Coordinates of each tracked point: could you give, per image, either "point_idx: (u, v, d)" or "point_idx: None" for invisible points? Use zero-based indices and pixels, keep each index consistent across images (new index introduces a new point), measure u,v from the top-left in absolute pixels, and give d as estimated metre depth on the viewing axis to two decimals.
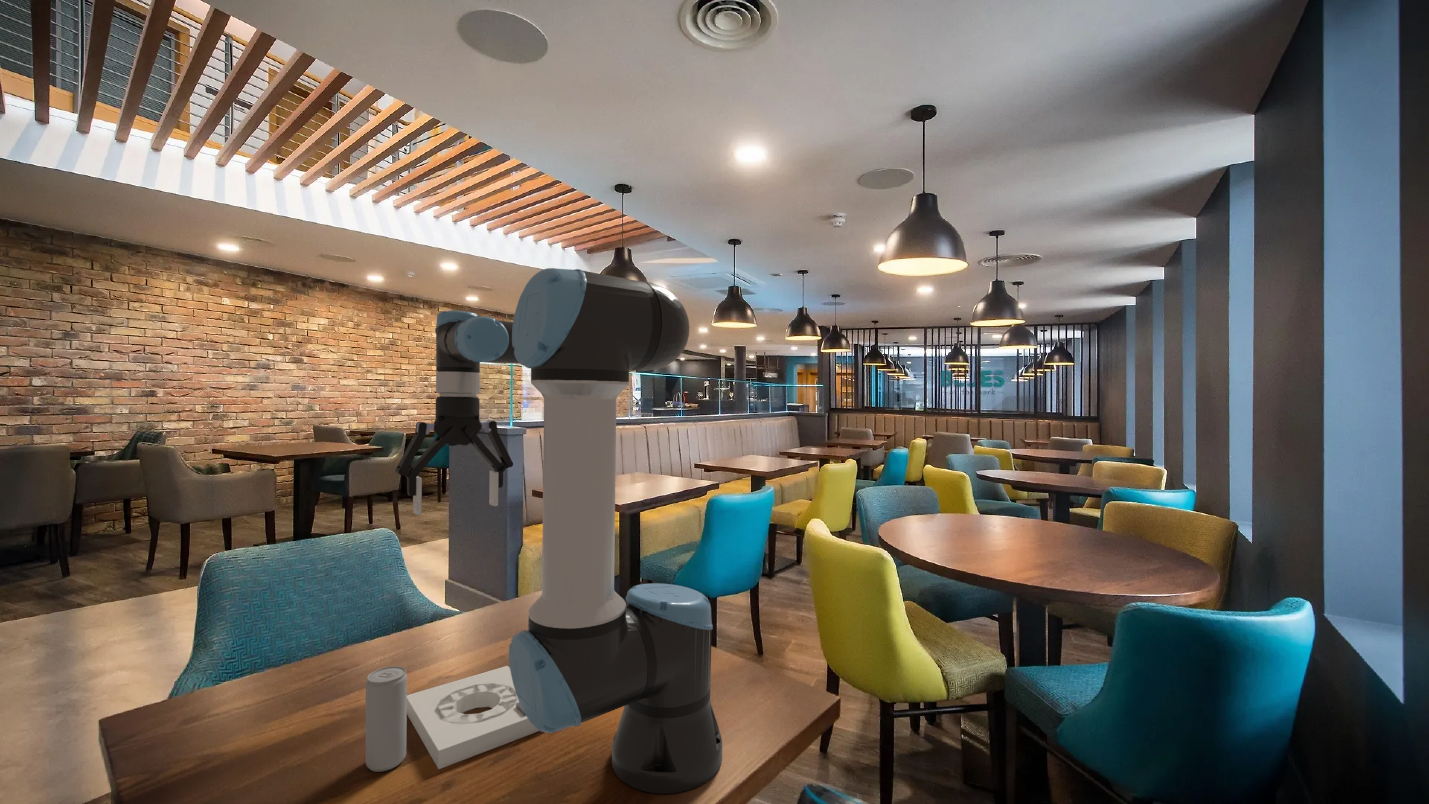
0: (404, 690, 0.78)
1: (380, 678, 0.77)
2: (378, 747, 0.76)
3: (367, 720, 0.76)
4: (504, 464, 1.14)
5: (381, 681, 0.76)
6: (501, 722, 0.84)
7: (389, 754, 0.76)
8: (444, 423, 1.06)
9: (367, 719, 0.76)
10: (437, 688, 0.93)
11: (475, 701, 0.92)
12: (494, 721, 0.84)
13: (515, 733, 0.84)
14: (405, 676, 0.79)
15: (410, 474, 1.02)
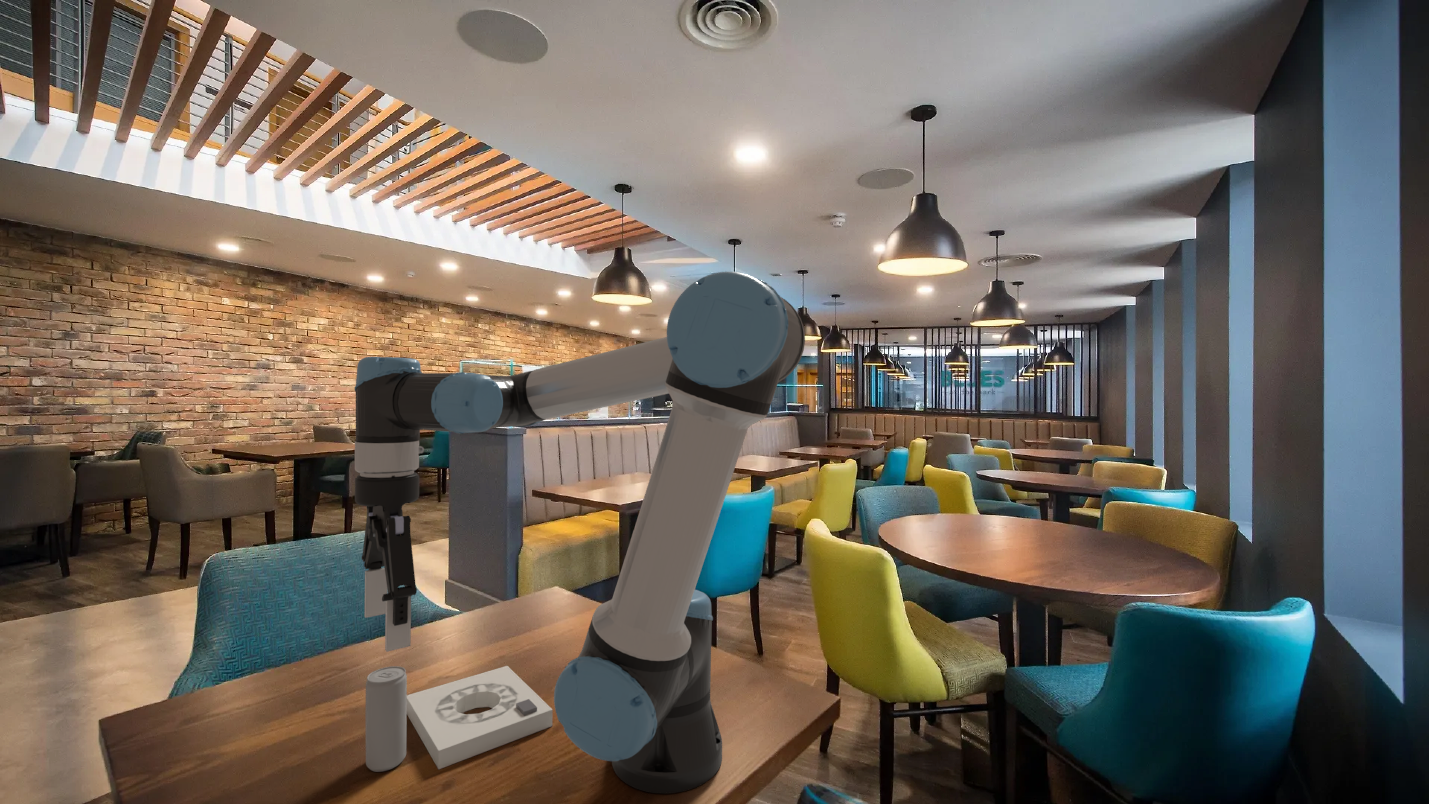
0: (404, 690, 0.78)
1: (380, 678, 0.77)
2: (378, 747, 0.76)
3: (367, 720, 0.76)
4: None
5: (381, 681, 0.76)
6: (501, 722, 0.84)
7: (389, 754, 0.76)
8: (374, 508, 0.79)
9: (367, 719, 0.76)
10: (437, 688, 0.93)
11: (475, 701, 0.92)
12: (494, 721, 0.84)
13: (515, 733, 0.84)
14: (405, 676, 0.79)
15: None
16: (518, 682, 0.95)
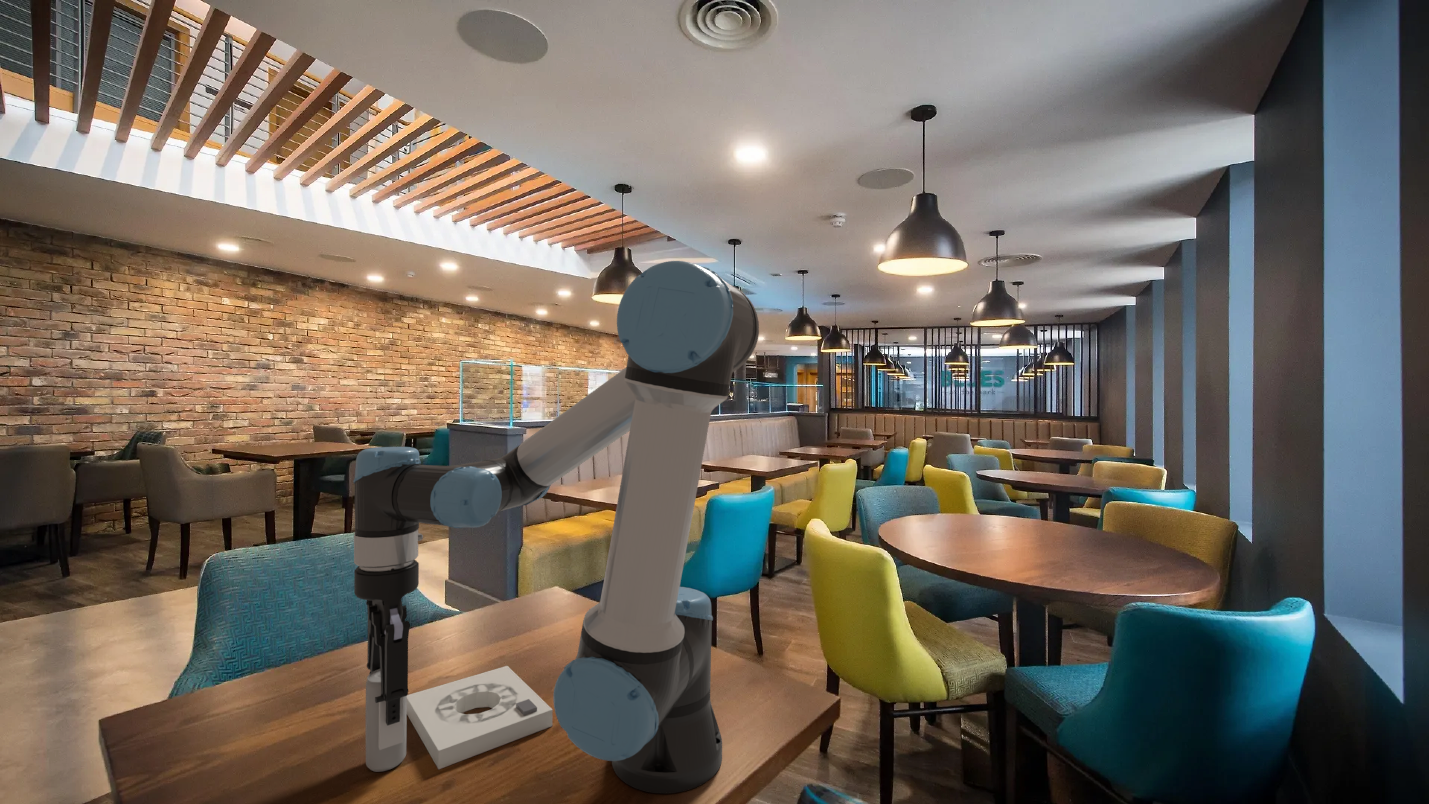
0: None
1: (380, 677, 0.77)
2: (378, 747, 0.76)
3: (367, 720, 0.76)
4: None
5: None
6: (501, 722, 0.84)
7: (388, 754, 0.76)
8: None
9: (367, 719, 0.76)
10: (437, 688, 0.93)
11: (475, 701, 0.92)
12: (494, 721, 0.84)
13: (515, 733, 0.84)
14: None
15: None
16: (518, 682, 0.95)
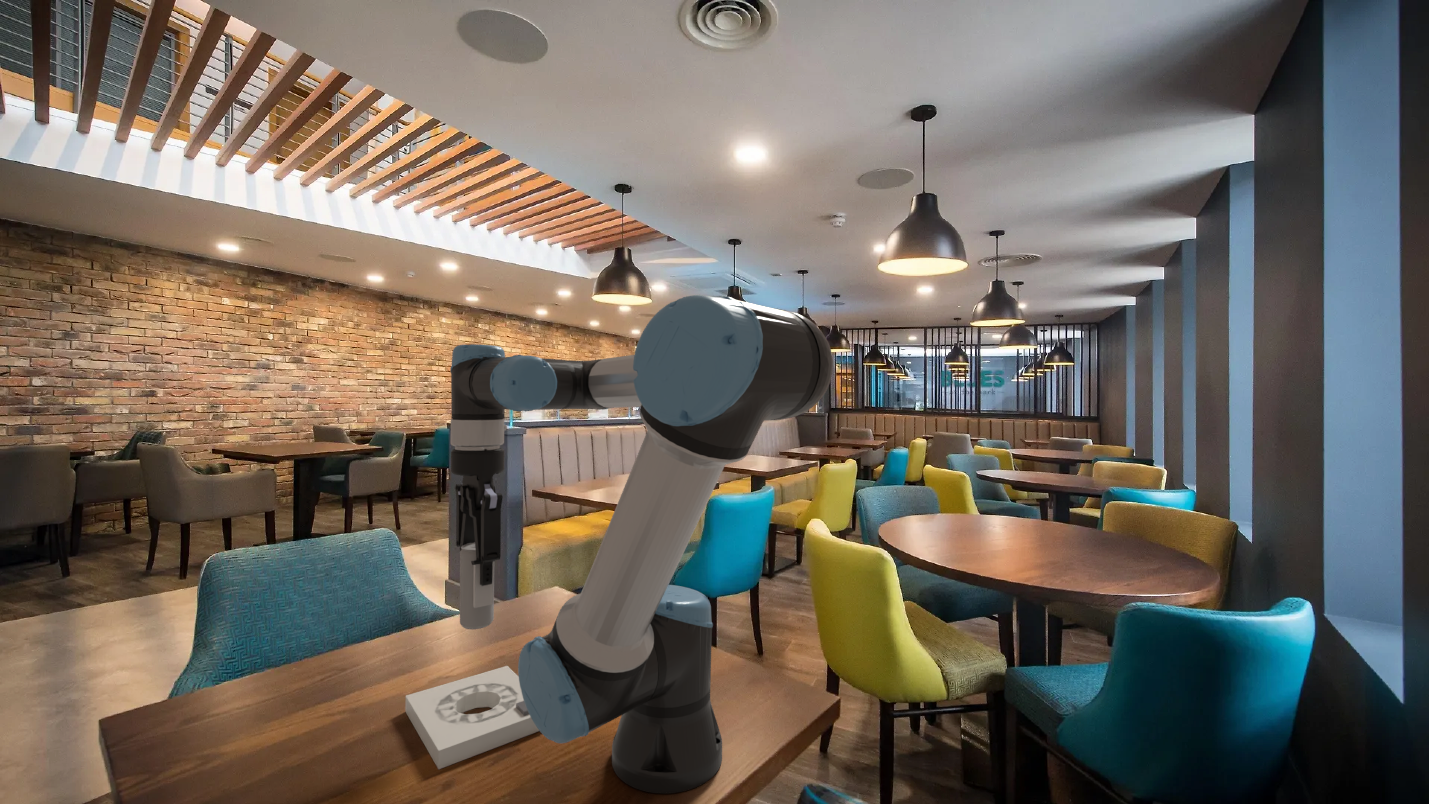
0: None
1: (473, 548, 0.87)
2: (473, 607, 0.86)
3: (462, 584, 0.86)
4: None
5: (474, 550, 0.87)
6: (501, 722, 0.84)
7: (481, 613, 0.87)
8: (463, 478, 0.90)
9: (462, 583, 0.86)
10: (437, 688, 0.93)
11: (475, 701, 0.92)
12: (494, 721, 0.84)
13: (515, 733, 0.84)
14: None
15: (460, 549, 0.91)
16: (518, 682, 0.95)
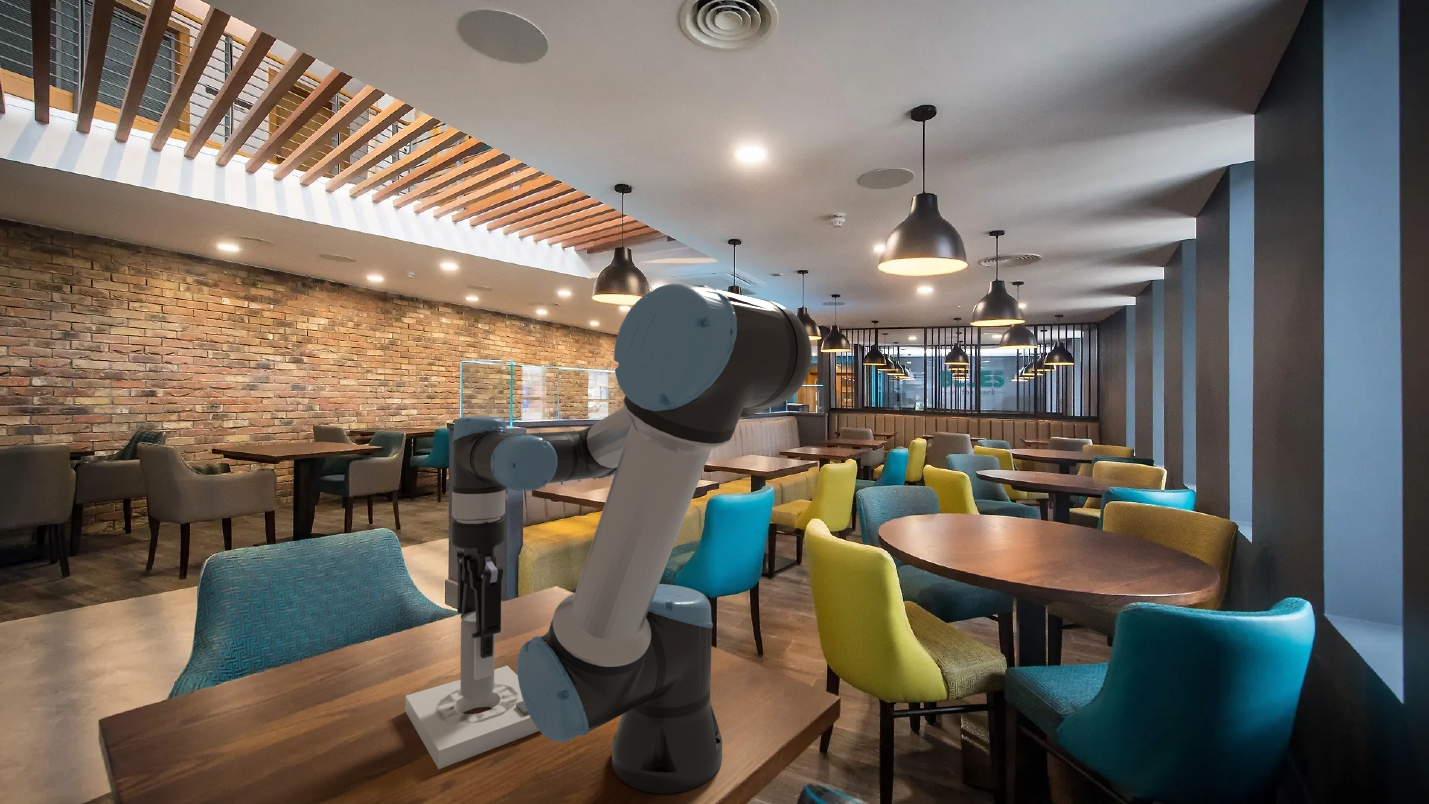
0: None
1: (473, 618, 0.88)
2: (473, 678, 0.87)
3: (463, 655, 0.87)
4: None
5: (475, 621, 0.87)
6: (501, 722, 0.84)
7: (481, 684, 0.87)
8: None
9: (463, 654, 0.87)
10: (437, 688, 0.93)
11: (475, 701, 0.92)
12: (494, 721, 0.84)
13: (515, 733, 0.84)
14: None
15: None
16: (518, 682, 0.95)
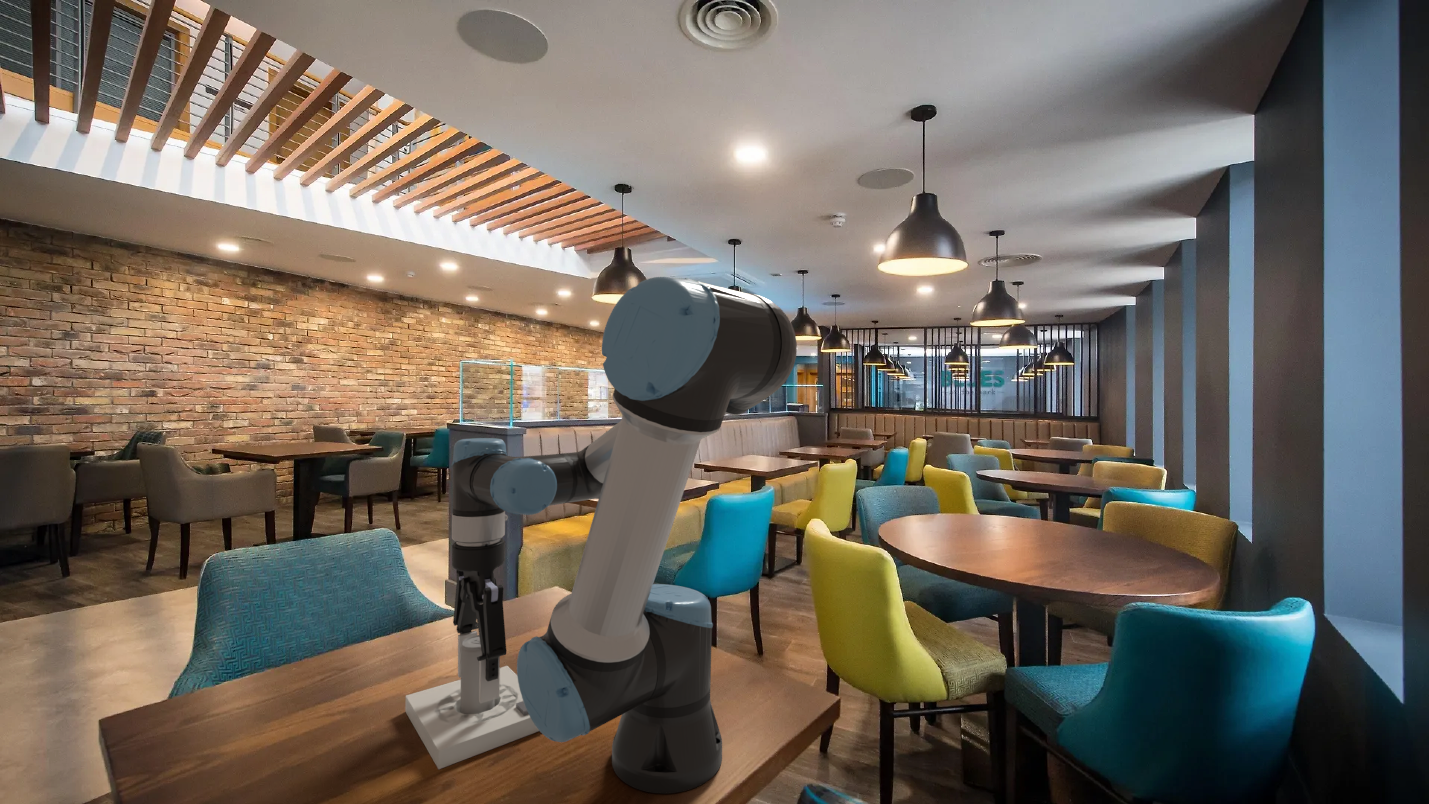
0: None
1: (473, 644, 0.88)
2: (473, 704, 0.87)
3: (463, 681, 0.87)
4: None
5: (475, 647, 0.87)
6: (501, 722, 0.84)
7: (482, 710, 0.87)
8: None
9: (463, 680, 0.87)
10: (437, 688, 0.93)
11: None
12: (494, 721, 0.84)
13: (515, 733, 0.84)
14: None
15: None
16: None
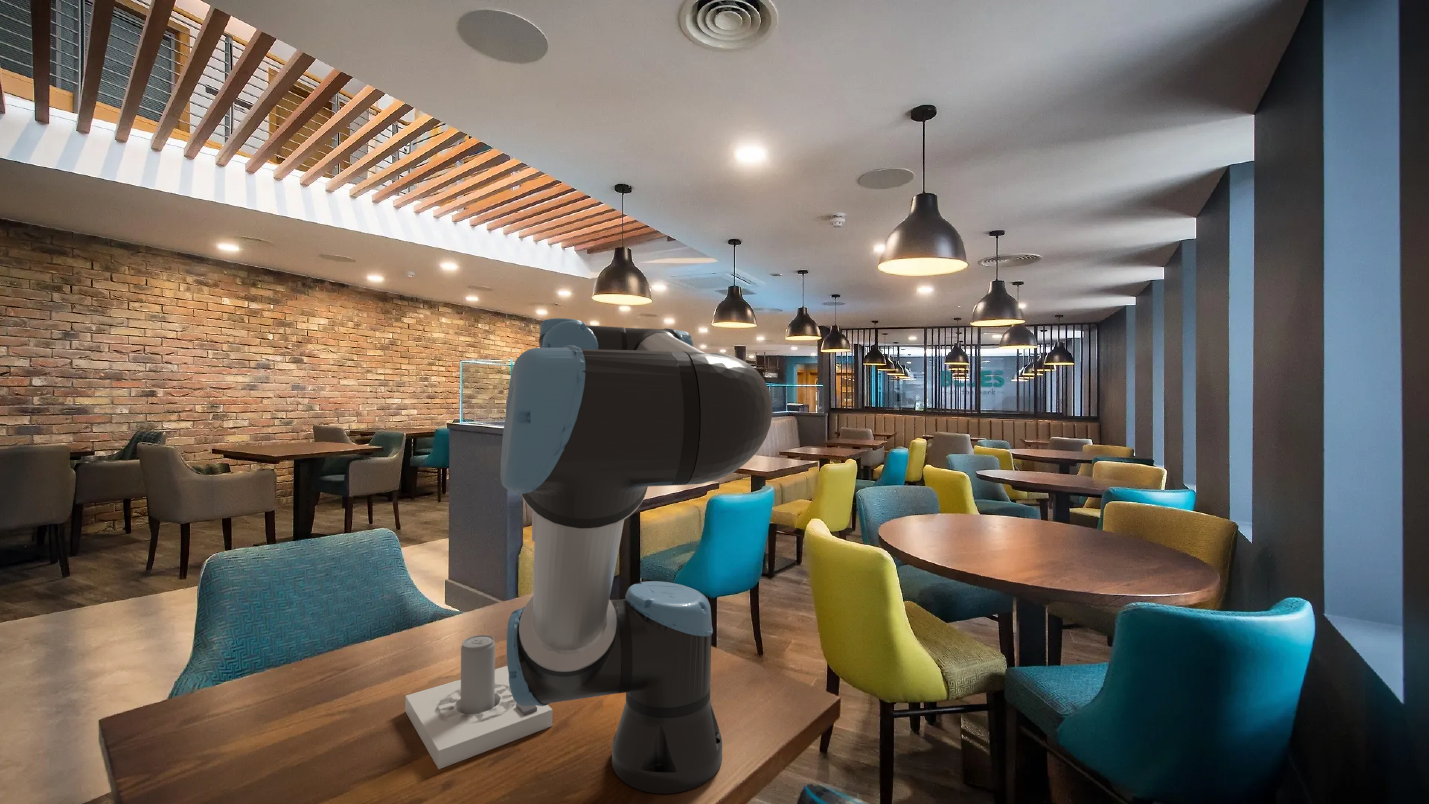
0: (493, 655, 0.89)
1: (473, 644, 0.88)
2: (473, 704, 0.87)
3: (463, 681, 0.87)
4: None
5: (475, 647, 0.87)
6: (501, 722, 0.84)
7: (482, 710, 0.87)
8: None
9: (463, 680, 0.87)
10: (437, 688, 0.93)
11: None
12: (494, 721, 0.84)
13: (515, 733, 0.84)
14: (494, 643, 0.89)
15: None
16: None
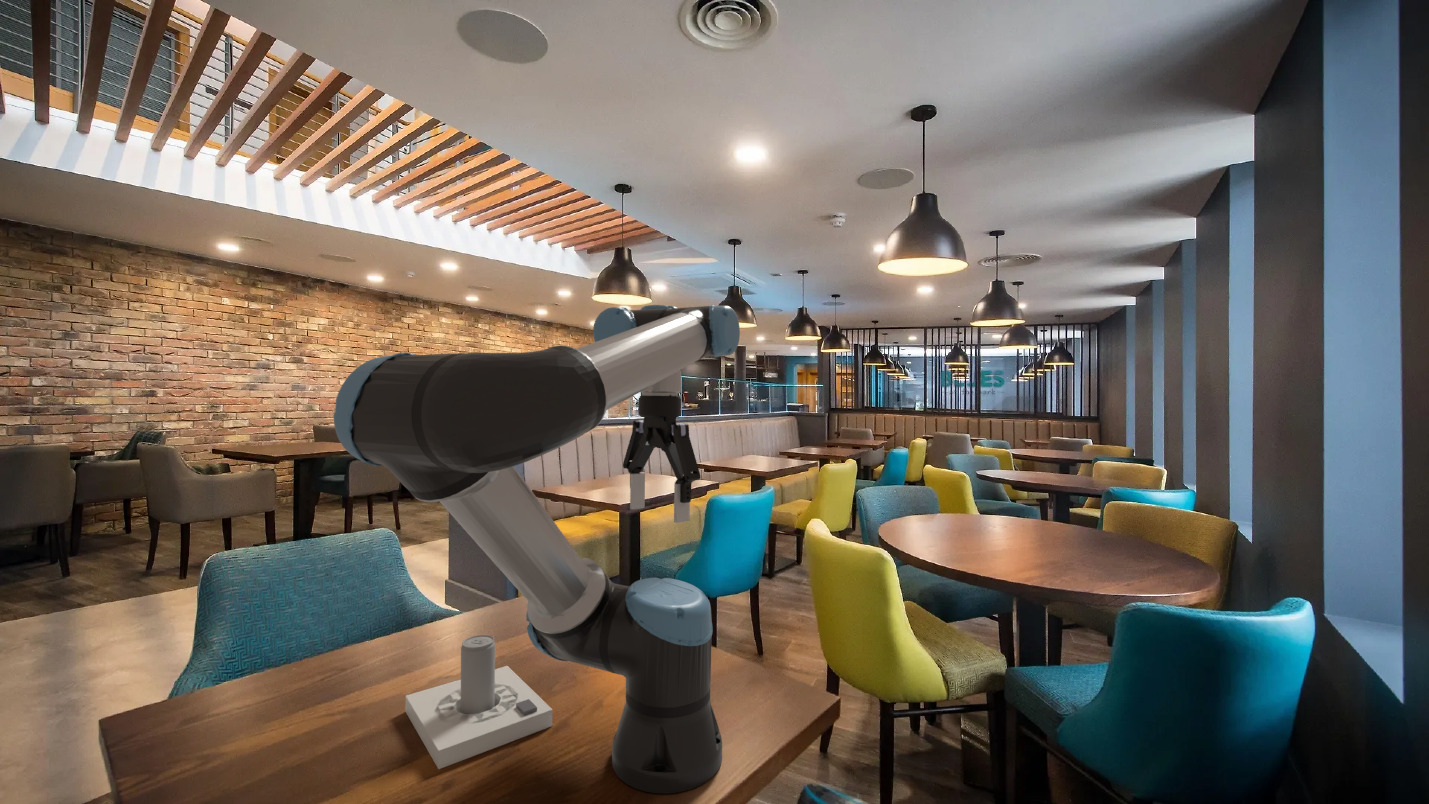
0: (493, 655, 0.89)
1: (473, 644, 0.88)
2: (473, 704, 0.87)
3: (463, 681, 0.87)
4: None
5: (475, 647, 0.87)
6: (501, 722, 0.84)
7: (482, 710, 0.87)
8: (646, 423, 1.04)
9: (463, 680, 0.87)
10: (437, 688, 0.93)
11: None
12: (494, 721, 0.84)
13: (515, 733, 0.84)
14: (494, 643, 0.89)
15: (628, 469, 1.08)
16: (518, 682, 0.95)
